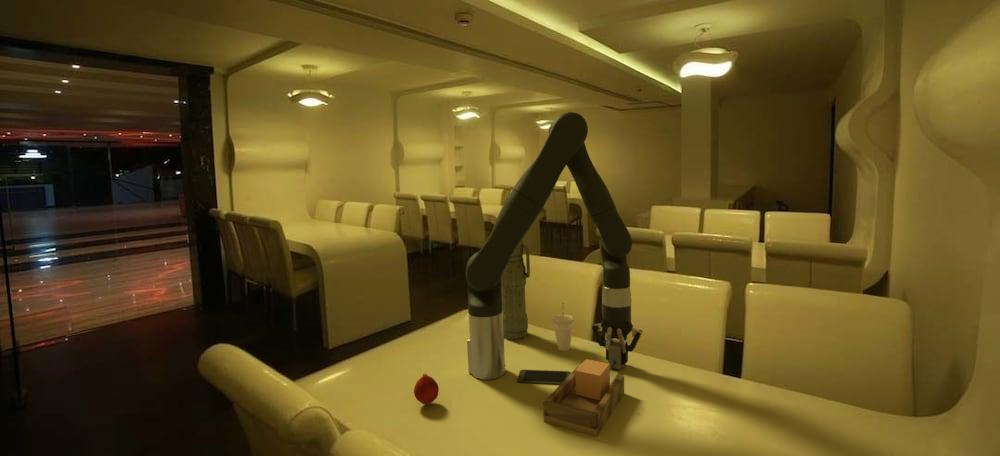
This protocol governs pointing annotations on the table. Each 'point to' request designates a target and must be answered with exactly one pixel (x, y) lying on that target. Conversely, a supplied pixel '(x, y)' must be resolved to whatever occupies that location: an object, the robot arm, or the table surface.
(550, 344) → the table surface
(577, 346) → the table surface
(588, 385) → the block
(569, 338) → the smoothie
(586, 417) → the wooden crate
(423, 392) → the onion
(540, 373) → the cell phone
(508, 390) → the table surface
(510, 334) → the thermos
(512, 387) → the table surface
